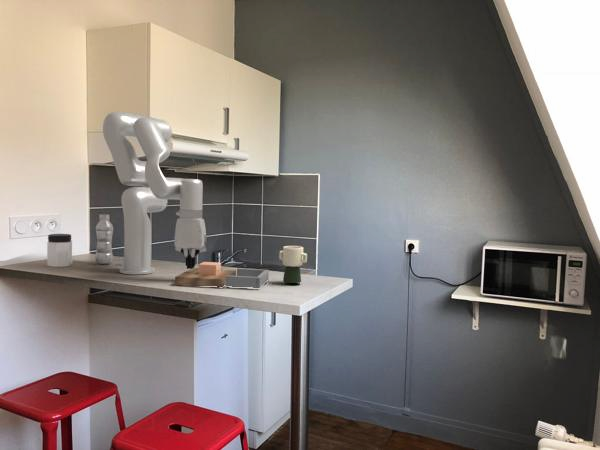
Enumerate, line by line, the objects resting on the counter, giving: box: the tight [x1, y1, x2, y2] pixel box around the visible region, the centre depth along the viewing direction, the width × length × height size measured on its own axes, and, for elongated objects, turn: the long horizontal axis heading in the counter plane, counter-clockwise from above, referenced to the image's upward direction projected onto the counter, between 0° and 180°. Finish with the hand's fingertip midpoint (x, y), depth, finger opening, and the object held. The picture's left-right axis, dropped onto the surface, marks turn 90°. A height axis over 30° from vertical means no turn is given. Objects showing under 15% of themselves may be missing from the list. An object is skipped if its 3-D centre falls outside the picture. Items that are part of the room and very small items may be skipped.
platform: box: [174, 267, 237, 287], centre depth 172 cm, size 16×18×3 cm
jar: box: [46, 233, 73, 268], centre depth 195 cm, size 9×8×12 cm
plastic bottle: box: [95, 213, 114, 265], centre depth 201 cm, size 6×7×20 cm
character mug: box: [278, 245, 308, 284], centre depth 174 cm, size 11×7×13 cm, turn 62°
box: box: [225, 267, 270, 288], centre depth 171 cm, size 11×16×4 cm
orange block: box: [198, 261, 222, 276], centre depth 172 cm, size 6×6×4 cm
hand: (190, 268), depth 173 cm, fingers closed
